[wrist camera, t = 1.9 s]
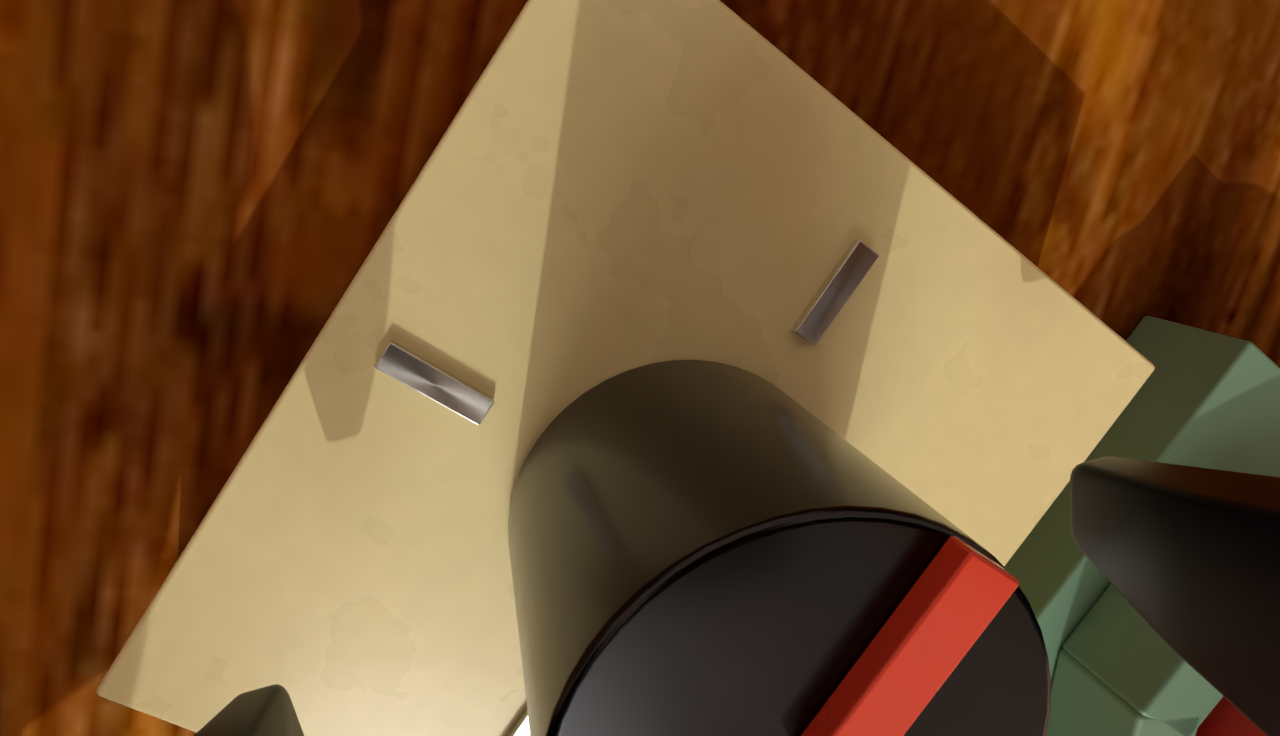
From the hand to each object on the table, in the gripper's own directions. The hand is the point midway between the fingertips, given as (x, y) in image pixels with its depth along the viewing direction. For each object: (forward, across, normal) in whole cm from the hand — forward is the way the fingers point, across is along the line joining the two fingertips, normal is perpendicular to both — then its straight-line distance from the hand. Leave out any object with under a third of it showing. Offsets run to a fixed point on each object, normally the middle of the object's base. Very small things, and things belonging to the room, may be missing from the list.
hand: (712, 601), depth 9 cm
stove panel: (+5, 0, 0) cm, 5 cm away
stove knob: (+2, 0, 0) cm, 2 cm away
